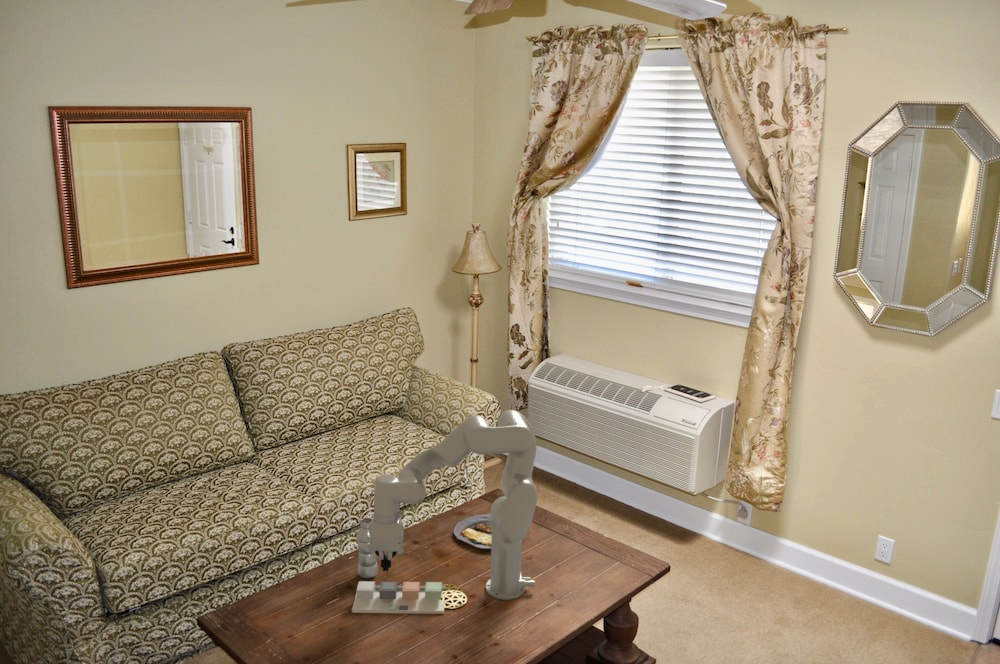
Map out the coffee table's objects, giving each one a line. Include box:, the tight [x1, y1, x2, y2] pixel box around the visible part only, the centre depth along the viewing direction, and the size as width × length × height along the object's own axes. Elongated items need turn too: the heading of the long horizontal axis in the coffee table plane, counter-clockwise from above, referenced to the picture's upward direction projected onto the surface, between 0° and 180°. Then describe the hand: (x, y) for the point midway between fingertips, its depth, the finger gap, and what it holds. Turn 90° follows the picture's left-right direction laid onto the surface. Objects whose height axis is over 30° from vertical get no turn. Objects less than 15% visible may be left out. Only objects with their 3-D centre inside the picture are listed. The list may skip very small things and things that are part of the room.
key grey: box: [356, 580, 376, 599], centre depth 260 cm, size 5×5×3 cm
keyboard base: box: [351, 584, 447, 615], centre depth 261 cm, size 28×12×2 cm, turn 91°
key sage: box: [425, 581, 443, 600], centre depth 260 cm, size 5×5×3 cm
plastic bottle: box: [355, 517, 379, 579], centre depth 272 cm, size 6×7×20 cm
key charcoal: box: [379, 581, 398, 599], centre depth 260 cm, size 5×5×3 cm
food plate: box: [453, 513, 492, 550], centre depth 301 cm, size 25×23×4 cm
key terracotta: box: [402, 581, 421, 600], centre depth 260 cm, size 5×5×3 cm
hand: (386, 569), depth 258 cm, fingers closed
